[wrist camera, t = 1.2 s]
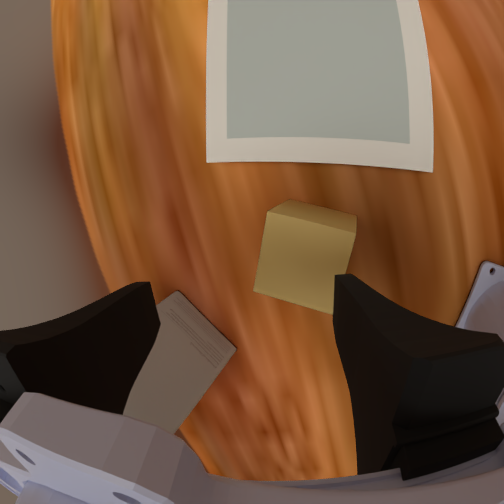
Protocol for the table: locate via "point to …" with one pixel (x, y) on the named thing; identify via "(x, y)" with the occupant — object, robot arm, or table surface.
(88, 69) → the table surface
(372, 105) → the base
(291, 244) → the block
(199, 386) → the supplement box
